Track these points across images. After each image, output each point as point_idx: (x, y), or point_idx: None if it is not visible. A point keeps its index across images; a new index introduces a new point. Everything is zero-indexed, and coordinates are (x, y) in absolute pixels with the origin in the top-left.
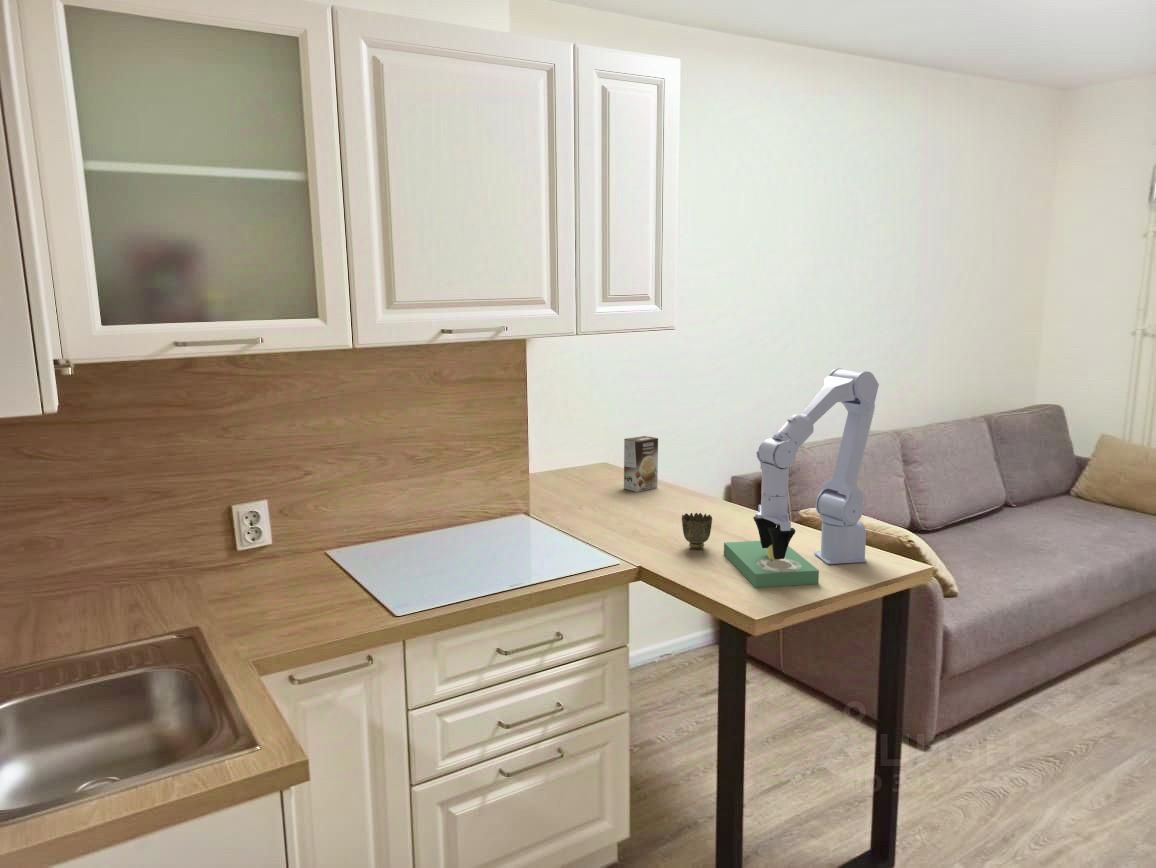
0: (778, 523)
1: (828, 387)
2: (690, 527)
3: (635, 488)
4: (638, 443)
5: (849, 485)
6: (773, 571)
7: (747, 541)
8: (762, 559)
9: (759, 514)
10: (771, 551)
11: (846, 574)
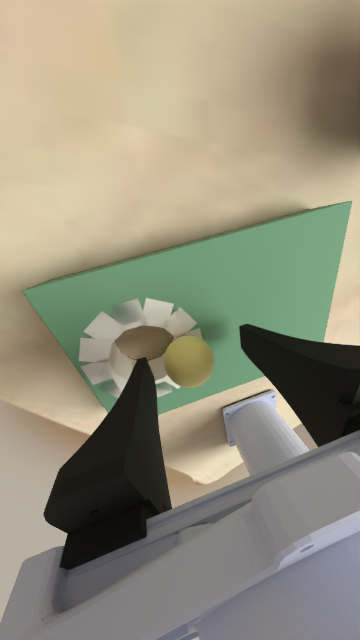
0: (53, 627)
1: None
2: None
3: None
4: None
5: None
6: (77, 345)
7: (334, 281)
8: (185, 316)
9: (311, 544)
10: (171, 357)
11: (179, 429)
